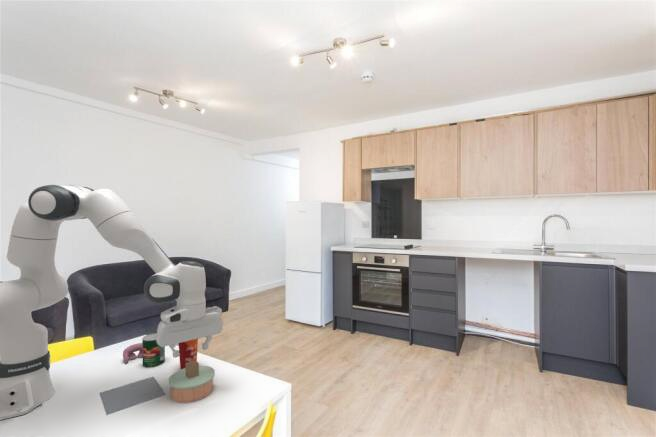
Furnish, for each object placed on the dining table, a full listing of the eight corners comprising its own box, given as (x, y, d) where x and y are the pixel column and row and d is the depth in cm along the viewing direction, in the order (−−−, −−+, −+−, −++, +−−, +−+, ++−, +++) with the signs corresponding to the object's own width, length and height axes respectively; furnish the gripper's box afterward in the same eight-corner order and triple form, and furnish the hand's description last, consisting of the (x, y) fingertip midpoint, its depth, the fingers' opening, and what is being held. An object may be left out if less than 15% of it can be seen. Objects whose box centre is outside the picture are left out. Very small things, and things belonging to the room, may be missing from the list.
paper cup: (191, 374, 119) (190, 336, 119) (173, 372, 120) (172, 334, 120) (203, 364, 126) (203, 328, 126) (186, 362, 128) (185, 327, 128)
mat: (106, 416, 94) (106, 414, 94) (99, 394, 106) (99, 392, 106) (166, 395, 104) (166, 394, 104) (153, 377, 116) (153, 376, 116)
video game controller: (150, 358, 136) (148, 341, 139) (152, 356, 133) (150, 339, 135) (122, 365, 130) (121, 347, 132) (124, 364, 127) (122, 345, 129)
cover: (176, 394, 96) (176, 378, 96) (163, 377, 106) (163, 362, 106) (221, 378, 105) (221, 363, 105) (205, 364, 116) (205, 350, 116)
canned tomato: (141, 370, 122) (141, 341, 122) (142, 362, 129) (142, 335, 129) (165, 366, 125) (165, 337, 125) (165, 358, 132) (164, 331, 132)
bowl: (178, 408, 97) (178, 392, 97) (166, 392, 106) (166, 377, 106) (218, 393, 105) (218, 378, 105) (204, 379, 115) (204, 365, 115)
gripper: (218, 303, 115) (217, 341, 115) (155, 314, 102) (154, 358, 102) (225, 307, 110) (225, 347, 110) (160, 319, 97) (160, 365, 97)
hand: (191, 352), depth 106 cm, fingers open, 8 cm apart
